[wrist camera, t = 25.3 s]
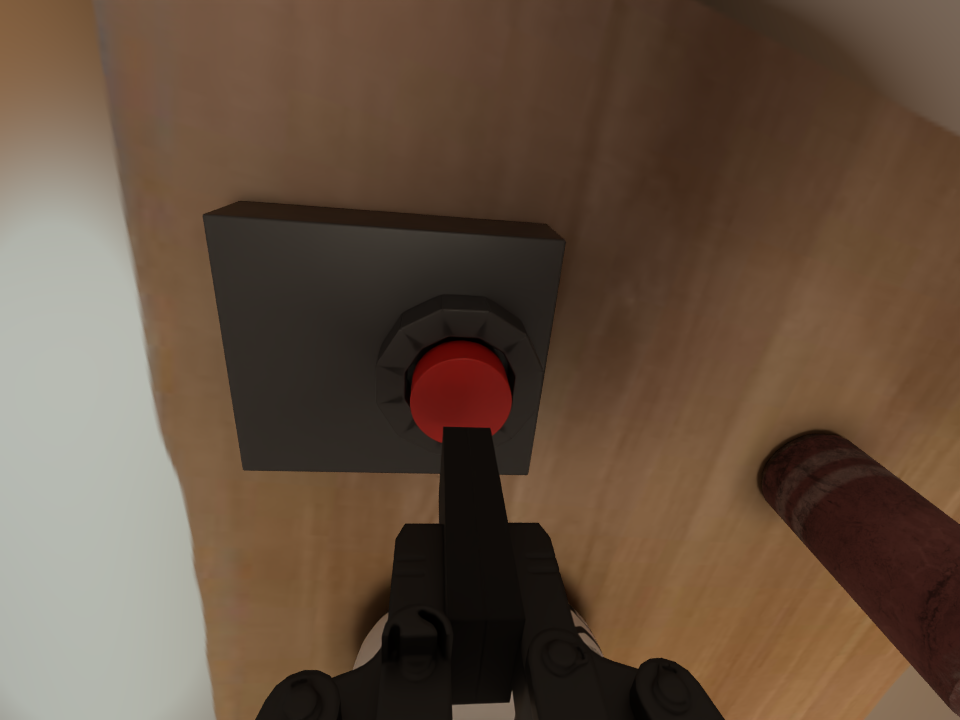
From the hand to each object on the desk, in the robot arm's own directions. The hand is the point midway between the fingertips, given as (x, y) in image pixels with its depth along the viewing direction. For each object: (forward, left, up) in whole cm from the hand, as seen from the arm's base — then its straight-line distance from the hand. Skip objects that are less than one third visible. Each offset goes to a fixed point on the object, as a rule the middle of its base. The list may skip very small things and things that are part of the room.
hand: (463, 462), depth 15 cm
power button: (0, 0, -5) cm, 5 cm away
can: (-23, +8, -11) cm, 27 cm away
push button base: (+3, 0, -10) cm, 11 cm away
